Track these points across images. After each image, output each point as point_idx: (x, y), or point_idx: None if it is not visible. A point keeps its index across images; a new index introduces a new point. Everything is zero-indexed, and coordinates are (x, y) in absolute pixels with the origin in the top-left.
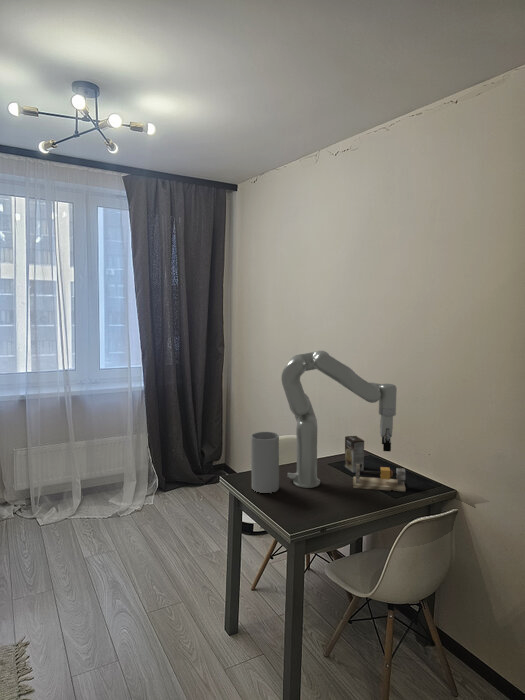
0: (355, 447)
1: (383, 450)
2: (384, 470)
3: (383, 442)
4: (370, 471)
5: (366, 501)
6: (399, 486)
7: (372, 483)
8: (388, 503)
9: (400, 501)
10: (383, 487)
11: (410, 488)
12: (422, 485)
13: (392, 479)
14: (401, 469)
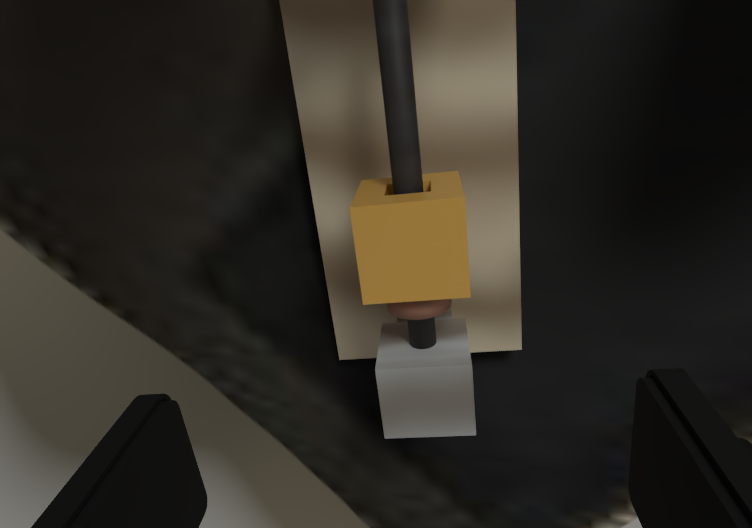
0: None
1: (135, 398)
2: (356, 244)
3: (654, 428)
4: (386, 65)
5: (28, 55)
6: (360, 318)
7: (358, 87)
8: (80, 229)
9: (153, 308)
10: (313, 191)
11: None
12: (493, 454)
13: (507, 267)
14: (442, 409)
